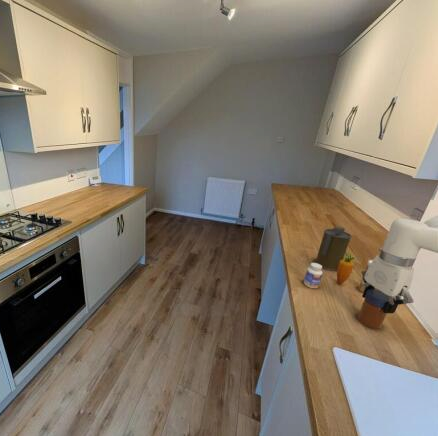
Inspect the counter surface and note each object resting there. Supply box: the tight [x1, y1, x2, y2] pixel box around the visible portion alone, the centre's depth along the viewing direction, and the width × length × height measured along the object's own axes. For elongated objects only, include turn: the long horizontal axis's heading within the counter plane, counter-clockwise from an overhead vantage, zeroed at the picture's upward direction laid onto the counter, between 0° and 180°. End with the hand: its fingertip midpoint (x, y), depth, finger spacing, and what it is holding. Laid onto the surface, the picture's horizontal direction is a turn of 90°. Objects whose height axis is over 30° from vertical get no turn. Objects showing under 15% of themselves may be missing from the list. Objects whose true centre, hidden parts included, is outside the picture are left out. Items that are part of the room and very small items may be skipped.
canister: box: [314, 226, 353, 272], centre depth 114 cm, size 11×10×20 cm
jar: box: [357, 298, 388, 330], centre depth 81 cm, size 6×6×10 cm
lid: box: [364, 288, 396, 308], centre depth 79 cm, size 7×7×3 cm
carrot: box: [336, 251, 356, 285], centre depth 100 cm, size 5×5×15 cm
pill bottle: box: [303, 262, 323, 289], centre depth 100 cm, size 5×5×10 cm
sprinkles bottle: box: [357, 259, 374, 293], centre depth 96 cm, size 5×5×13 cm
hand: (377, 304), depth 80 cm, fingers closed on lid, 6 cm apart
